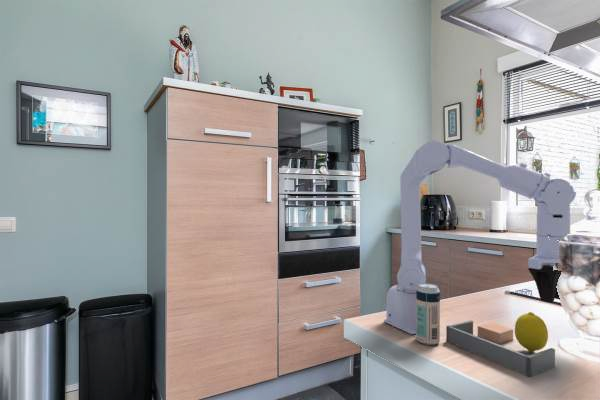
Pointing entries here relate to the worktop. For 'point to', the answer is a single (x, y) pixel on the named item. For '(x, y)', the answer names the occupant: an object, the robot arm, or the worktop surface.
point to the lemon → (531, 332)
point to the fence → (499, 351)
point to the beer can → (428, 314)
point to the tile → (495, 332)
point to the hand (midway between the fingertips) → (552, 300)
